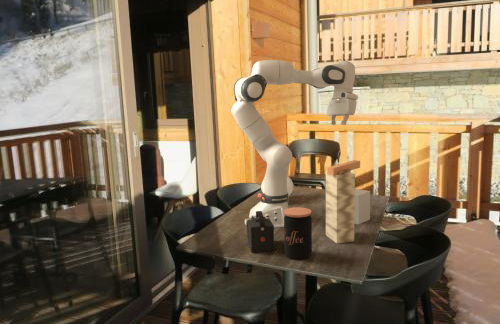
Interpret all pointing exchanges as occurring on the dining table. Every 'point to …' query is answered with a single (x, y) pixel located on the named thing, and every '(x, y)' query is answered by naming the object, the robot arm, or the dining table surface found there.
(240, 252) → the dining table surface
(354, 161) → the block
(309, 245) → the coffee jar
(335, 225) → the stand
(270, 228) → the camera
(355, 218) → the step
